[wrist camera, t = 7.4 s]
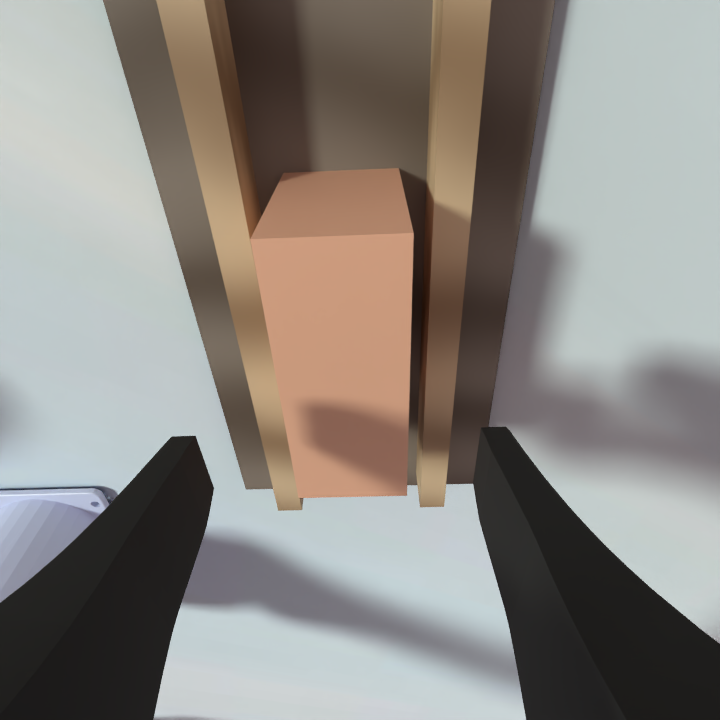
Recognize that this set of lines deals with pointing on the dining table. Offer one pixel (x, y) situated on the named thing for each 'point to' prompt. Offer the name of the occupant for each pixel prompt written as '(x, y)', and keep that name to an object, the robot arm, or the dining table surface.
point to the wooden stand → (335, 153)
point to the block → (340, 326)
